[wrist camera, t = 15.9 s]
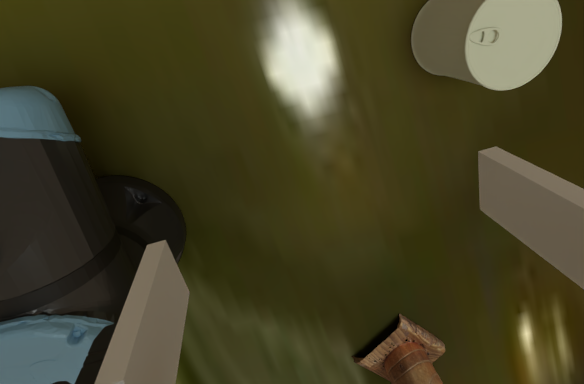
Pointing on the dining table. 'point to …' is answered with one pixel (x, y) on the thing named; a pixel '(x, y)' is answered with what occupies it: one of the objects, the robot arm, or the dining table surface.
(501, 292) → the dining table surface
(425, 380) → the bird sculpture
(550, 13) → the can
